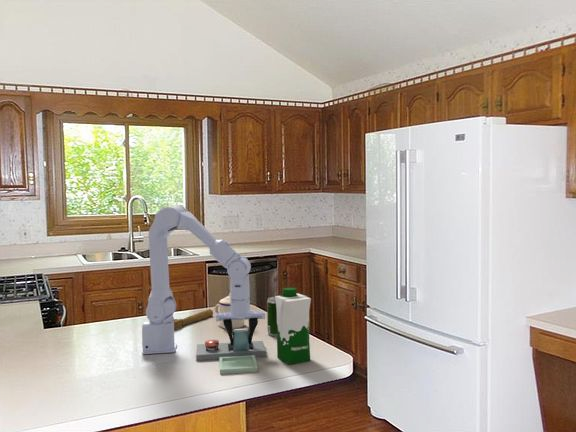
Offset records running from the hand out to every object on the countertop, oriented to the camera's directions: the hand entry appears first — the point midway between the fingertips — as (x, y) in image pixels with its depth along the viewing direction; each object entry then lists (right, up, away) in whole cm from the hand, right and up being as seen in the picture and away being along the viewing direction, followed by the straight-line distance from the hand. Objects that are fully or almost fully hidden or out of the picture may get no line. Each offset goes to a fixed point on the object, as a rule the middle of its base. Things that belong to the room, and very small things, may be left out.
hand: (240, 343), depth 155 cm
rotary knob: (0, -3, 0) cm, 3 cm away
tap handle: (-23, -2, +32) cm, 39 cm away
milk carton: (+16, -3, -7) cm, 17 cm away
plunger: (-8, -3, -1) cm, 9 cm away
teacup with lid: (-7, -1, +30) cm, 31 cm away
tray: (0, -3, -12) cm, 12 cm away
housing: (-3, -3, 0) cm, 4 cm away
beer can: (+10, -2, +19) cm, 21 cm away
